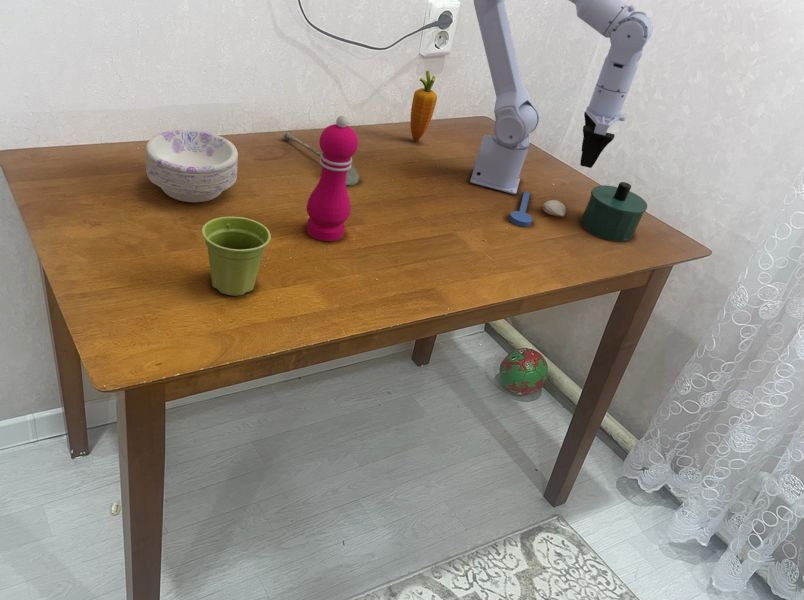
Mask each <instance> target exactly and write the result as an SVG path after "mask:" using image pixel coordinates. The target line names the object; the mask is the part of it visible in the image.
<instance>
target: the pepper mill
mask: <svg viewBox="0 0 804 600" xmlns="http://www.w3.org/2000/svg"><path fill="white" fill-rule="evenodd" d="M348 124H349V120H348V118H347V116H345V115H339V116H338V117H337V118H336V121H335V123H333V124H330V125H328V126H326V127H325V128H324V129H323V130H322V132H321V133H320V136H319V140H318V141H319V143H318V144H319V148H320V150H321V151H322V152H321V153H322V154H321V157H320V159H319V164H320V165H321V173H320V177H319V181H318V182H317V184H316V186H315V187H314V189H313V190H312V192H311V193H310V195H309V197H308V198H307V199H308V200H307V203H306V213H307V215H308V217H309V218H308V219H307V224H306V232H307V234H308V235H309V236H310V237H311V238H313V239H316V240H318V241H322V242H336V241H338V240H340V239H342V238H343V237H344V233H345V228H346V227H345V226H346V224H345V222H346V221H348V219H349V218H350V215H351V200H350V196H349V193H348V188H347V185H346V175H347V171H348V170H349V169H350V168H351V165H352V163H353V158H352V157H353V156H354V155H355V154H356V152H357V151H358V148H359V137H358V135H357V133H356V131H355V130H354V129H353V128H352V127H350V126H349V125H348Z"/></svg>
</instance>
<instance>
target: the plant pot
mask: <svg viewBox="0 0 804 600" xmlns="http://www.w3.org/2000/svg"><path fill="white" fill-rule="evenodd" d="M201 235H202V238H203V240H204V242H205V245H206V247H207V252H208V261H209V270H210V278H211V279H210V280H211V285H212V287H213V288H214V289H215V290H218V292H219V293H220V294H224V295H227V296H233V297H234V296H235V297H236V296H243V295H245V293H248V292H251V291H252V290H253V289H254V288H255V284H256V281H257V280H256V279H257V275H258V271H259V269H260V264H261V260H262V257H263V253H264V251H265V250H266V247H267V246H268V244H269V243H270V241H271V238H272V237H271V232H270V230H269V228H268V227H266V226H265V225H264V224H262V223H261V222H258V221H257V220H254V219H251V218H247V217H243V216H232V215H231V216H221V217H220V216H219V217H216V218H213V219H210V220H208V221H207V222H206V223H205V224H203V225H202V228H201Z"/></svg>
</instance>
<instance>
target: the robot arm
mask: <svg viewBox="0 0 804 600" xmlns="http://www.w3.org/2000/svg"><path fill="white" fill-rule="evenodd" d="M505 1H506V0H473V6H474V10H475V14H476V19H477V23H478V27H479V31H480V35H481V39H482V44H483V47H484V51H485V56H486V60H487V64H488V69H489V72H490V76H491V80H492V83H493V84H492V85H493V88H494V94H495V103H494V107H493V113H494V118H495V119H494V126H493V133H494V135H490V134H484V135H483V137H482V139H481V144H480V146H479V149H478V152H477V156H476V159H475V160H474V162H473V165H472V173H471V176H470V180H469V182H470V183H471V184H475V185H478V186H481V187H485V188H488V189H493V190H496V191H500V192H503V193H508V194H510V195H517V193H518V188H519V184H520V181H521V178H520V176H521V173H522V169H523V167H524V163H525V161H526V157H527V154H528V151H529V149H530V145H531V141H530V134H532V133H533V132H534V131H535V130H536V129H537V128H538V125H539V123H540V113H539V111H538V109H537V108H536V106H535V105H534V104H533V102H532V100H531V97H530V94H529V92H528V91H527V89H525V87H524V85H523V84H524V83H523V79H522V76H521V75H522V74H521V71H520V66H519V62H518V57H517V54H516V53H517V52H516V48H515V44H514V40H513V36H512V31H511V27H510V21H509V18H508V17H509V16H508V14H507V13H508V12H507V8H506V5H505ZM568 1H569V2H570V3H571V4H574V5H575V9H576V16H577V18H579V19H580V20H581V21H582V22H583V23H586V24H587V25H588V26H590V28H592V29H594V30H595V31H596V32H597V33H599V34H600V35H601V36H603V38H605V39H606V38H609V41H610V47H609V49H608V52H607V55H606V56H605V58H604V60H603V64H602V66H601V70H600V73H599V75H598V79H597V81H596V84H595V86H594V90H593V92H592V95H591V98H590V101H589V103H588V106H587V107H586V109H585V111H584V113H583V116H584V117H583V118H584V125H583V126H582V135H583V137H582V142H581V156H580V163H579V164H580V166H581V167H585V168H590V169H592V168H593V167H594V165H595V164H596V162H597V160H598V158H599V157H600V155H601V154H602V153H603V151H604V150H605V148H606V147H607V146H608V145H609V144H610V143H612V141H613V140H614V138H616V137H615V134H614V133H611V132H608V129H609V128H610V127H611V126H612V125H614V124H615V123H617V122H618V121H621V122H625V120H626V118H627V116H626V114H623V113H621V112H622V110H623V107H624V104H625V102H626V99H627V97H628V95H629V92H630V88H631V86H632V83H633V81H634V78H635V75H636V72H637V71H638V67H639V62H640V60H641V58H642V55H643V51H644V47H645V46H646V44H647V43H648V41H649V40H650V39H651V36H652V34H653V28H654V27H653V22H652V20H651V19H650V17H649V16H648V15H647V14H646V12H644V11H641V10H640V11H638V10H637V11H635V10H636V9H637V8H636V6H634V5H633V4H630V5H628V4H627V3H625V2H624V1H623V0H568Z"/></svg>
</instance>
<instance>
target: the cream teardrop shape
mask: <svg viewBox="0 0 804 600" xmlns="http://www.w3.org/2000/svg"><path fill="white" fill-rule="evenodd" d="M542 209H543V211H544V212H545V213H546V214H548V215H550V216H555V217H565V215H566V206H565V204H564V203H562V202H561V201H559V200H556V199H550V200H547V201H546V202H544V204H543V207H542Z"/></svg>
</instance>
